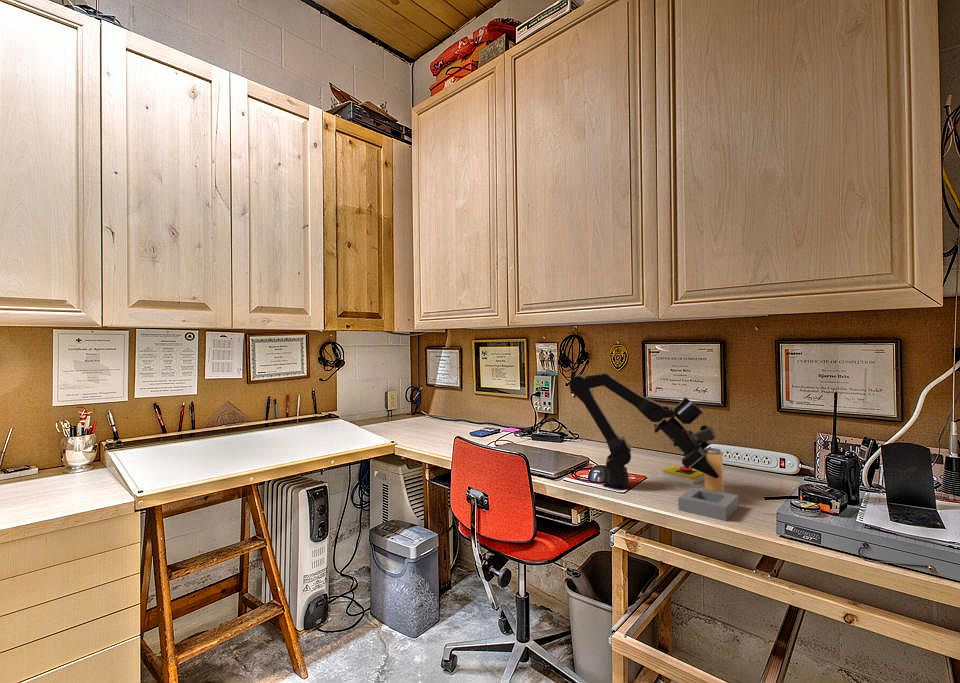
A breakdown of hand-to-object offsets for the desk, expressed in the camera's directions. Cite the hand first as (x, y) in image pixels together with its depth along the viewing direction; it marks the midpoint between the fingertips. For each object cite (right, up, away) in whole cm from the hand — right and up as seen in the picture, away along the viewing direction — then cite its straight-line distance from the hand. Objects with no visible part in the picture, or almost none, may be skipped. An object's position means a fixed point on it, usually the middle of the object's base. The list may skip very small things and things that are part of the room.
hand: (719, 474), depth 135 cm
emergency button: (-3, -7, +18) cm, 20 cm away
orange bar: (-1, -7, +1) cm, 7 cm away
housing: (-8, -7, -9) cm, 14 cm away
